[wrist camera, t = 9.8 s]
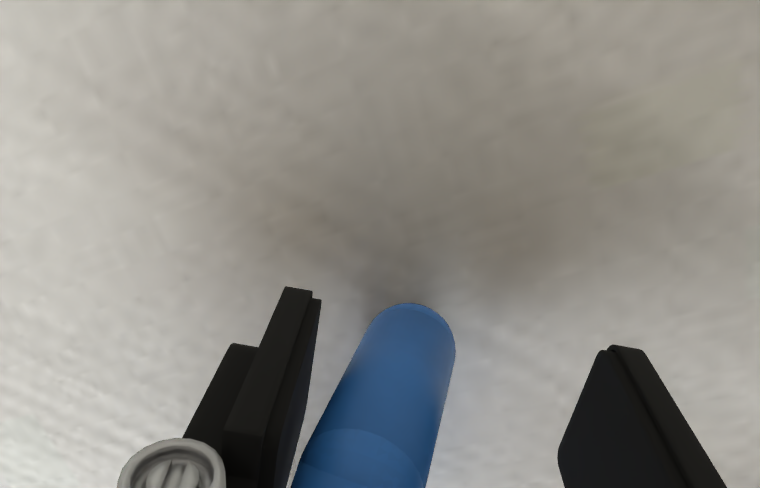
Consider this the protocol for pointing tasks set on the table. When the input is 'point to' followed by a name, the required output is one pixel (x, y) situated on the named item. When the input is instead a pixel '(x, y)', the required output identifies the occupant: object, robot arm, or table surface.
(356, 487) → the blue octagonal ring
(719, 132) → the table surface
